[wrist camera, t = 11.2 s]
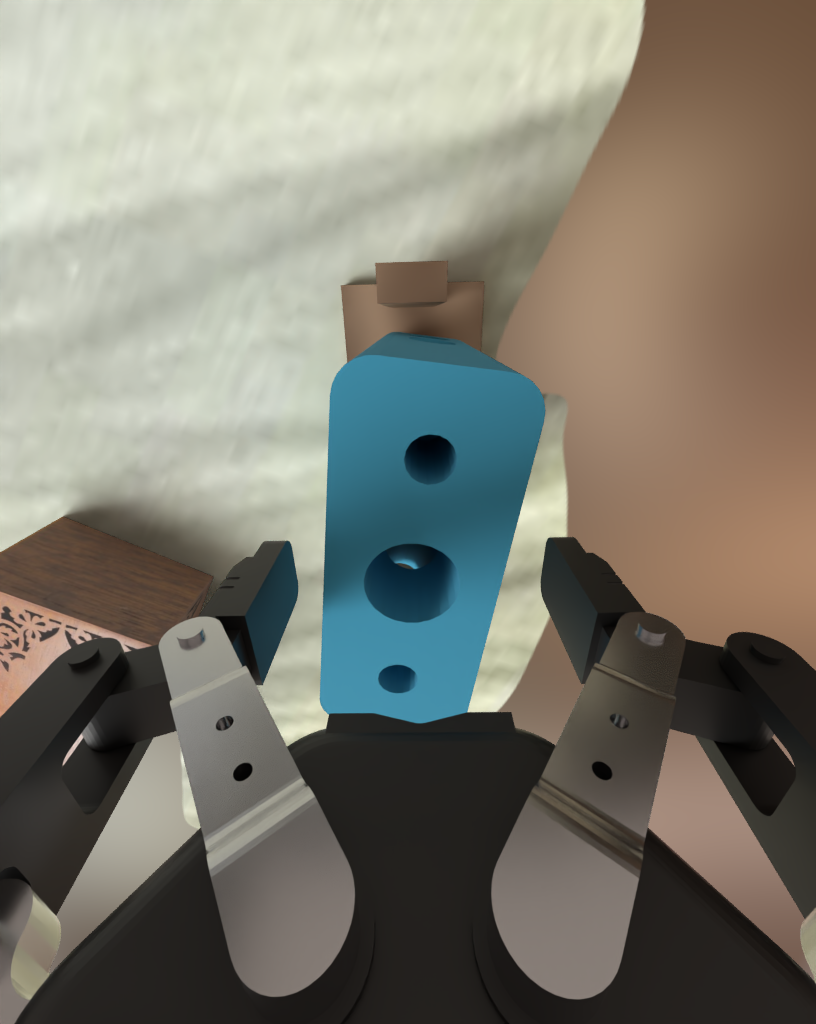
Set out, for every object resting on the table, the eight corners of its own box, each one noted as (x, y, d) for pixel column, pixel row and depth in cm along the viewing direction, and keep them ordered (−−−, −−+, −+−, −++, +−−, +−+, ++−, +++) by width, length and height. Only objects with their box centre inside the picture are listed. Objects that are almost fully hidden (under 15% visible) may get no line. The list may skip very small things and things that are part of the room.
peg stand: (361, 509, 37) (335, 608, 25) (343, 286, 30) (291, 265, 17) (470, 508, 37) (500, 607, 25) (481, 282, 29) (532, 258, 17)
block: (386, 326, 27) (331, 349, 9) (461, 335, 27) (555, 377, 9) (372, 492, 32) (319, 719, 14) (435, 499, 32) (461, 731, 14)
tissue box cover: (158, 725, 51) (103, 813, 42) (36, 686, 49) (-50, 771, 40) (214, 575, 41) (158, 648, 32) (64, 515, 38) (-42, 576, 29)
